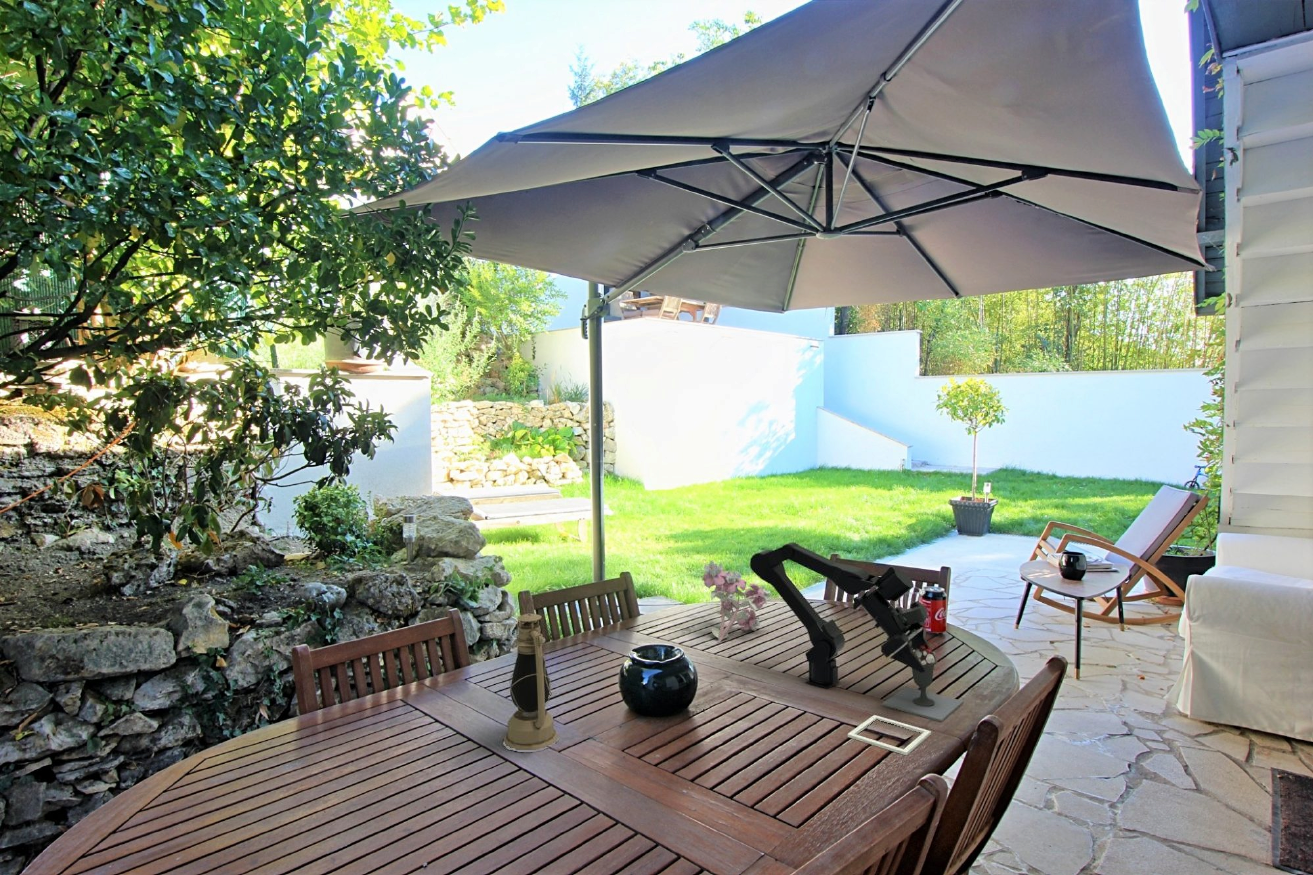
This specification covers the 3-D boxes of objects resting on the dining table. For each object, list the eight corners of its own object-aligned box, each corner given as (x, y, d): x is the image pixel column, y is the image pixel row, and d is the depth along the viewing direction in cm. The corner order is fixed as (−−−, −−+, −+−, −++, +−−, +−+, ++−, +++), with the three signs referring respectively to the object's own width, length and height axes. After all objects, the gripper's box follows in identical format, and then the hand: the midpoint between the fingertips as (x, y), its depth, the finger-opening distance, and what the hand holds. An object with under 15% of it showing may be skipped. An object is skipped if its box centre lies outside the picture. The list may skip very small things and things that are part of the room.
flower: (776, 644, 214) (778, 561, 224) (699, 637, 214) (705, 554, 224) (765, 653, 232) (767, 576, 242) (694, 646, 233) (699, 569, 243)
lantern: (570, 746, 153) (568, 605, 152) (515, 760, 147) (513, 613, 146) (544, 721, 166) (542, 590, 165) (493, 733, 160) (491, 597, 159)
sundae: (944, 702, 173) (942, 640, 172) (925, 710, 169) (923, 646, 168) (921, 694, 178) (919, 633, 178) (903, 701, 175) (900, 639, 174)
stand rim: (847, 736, 157) (847, 734, 157) (874, 717, 167) (874, 714, 167) (906, 755, 148) (906, 752, 148) (931, 733, 158) (931, 731, 158)
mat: (882, 705, 173) (882, 703, 173) (906, 688, 184) (906, 686, 184) (941, 722, 164) (941, 719, 164) (963, 703, 174) (963, 701, 174)
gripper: (895, 601, 167) (945, 657, 161) (917, 584, 183) (963, 636, 177) (861, 629, 172) (908, 685, 166) (885, 611, 187) (930, 661, 182)
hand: (929, 665), depth 173 cm, fingers open, 9 cm apart
